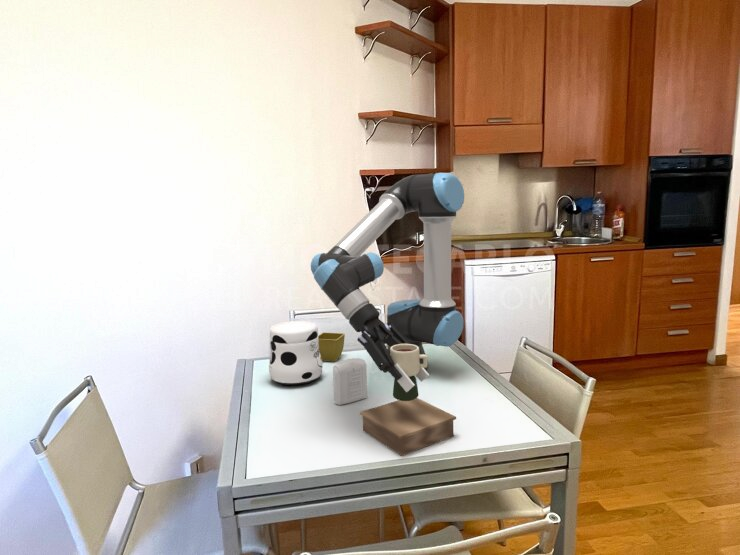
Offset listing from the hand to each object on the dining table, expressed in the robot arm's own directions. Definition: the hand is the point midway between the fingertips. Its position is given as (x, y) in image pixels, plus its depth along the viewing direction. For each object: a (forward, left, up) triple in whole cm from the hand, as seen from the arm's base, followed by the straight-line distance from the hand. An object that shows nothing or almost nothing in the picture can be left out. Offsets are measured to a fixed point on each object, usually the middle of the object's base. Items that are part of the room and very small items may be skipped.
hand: (418, 383), depth 125 cm
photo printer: (+1, -30, -14) cm, 33 cm away
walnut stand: (+1, -3, -14) cm, 14 cm away
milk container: (+6, -56, -14) cm, 58 cm away
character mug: (+2, -3, -5) cm, 6 cm away
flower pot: (-13, -67, -14) cm, 70 cm away
